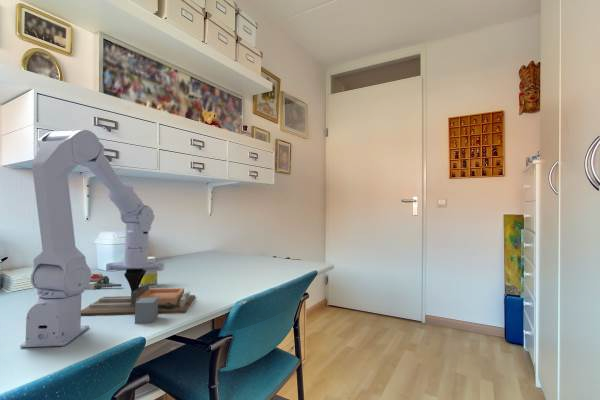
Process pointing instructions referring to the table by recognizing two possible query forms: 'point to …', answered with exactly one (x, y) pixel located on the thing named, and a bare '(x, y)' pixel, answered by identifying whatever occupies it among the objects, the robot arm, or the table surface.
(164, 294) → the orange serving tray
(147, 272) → the supplement bottle
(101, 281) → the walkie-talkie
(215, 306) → the table surface
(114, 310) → the track
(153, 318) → the block
